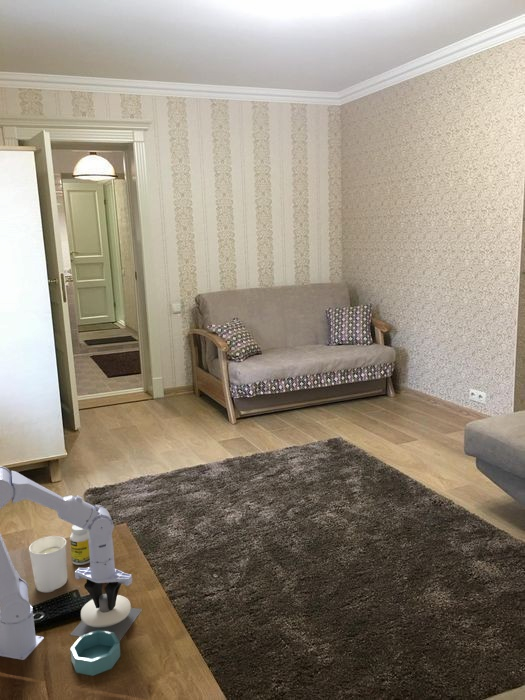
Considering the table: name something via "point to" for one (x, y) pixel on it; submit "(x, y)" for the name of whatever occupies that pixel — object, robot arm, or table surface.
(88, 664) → the bowl
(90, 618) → the lid
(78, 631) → the mat
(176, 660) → the table surface
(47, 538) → the candle holder
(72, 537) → the pill bottle
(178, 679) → the table surface
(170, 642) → the table surface
